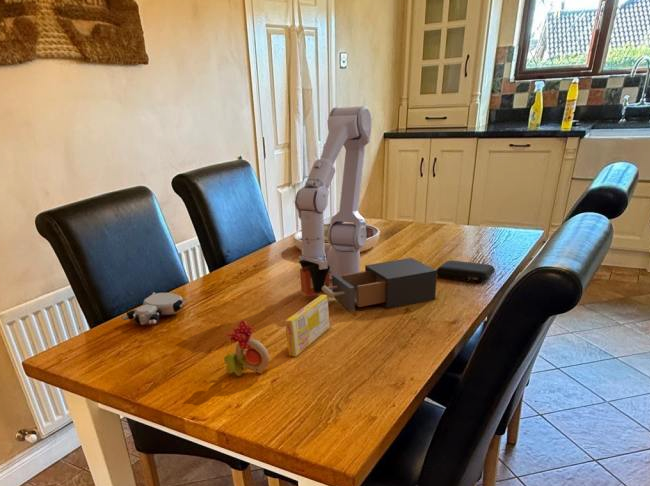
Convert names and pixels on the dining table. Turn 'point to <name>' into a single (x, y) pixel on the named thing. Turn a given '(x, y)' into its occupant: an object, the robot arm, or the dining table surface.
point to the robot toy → (156, 308)
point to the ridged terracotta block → (310, 282)
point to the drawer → (357, 289)
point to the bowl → (370, 242)
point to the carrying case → (465, 271)
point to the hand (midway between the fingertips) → (315, 288)
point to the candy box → (307, 325)
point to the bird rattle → (254, 355)
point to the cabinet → (405, 281)
